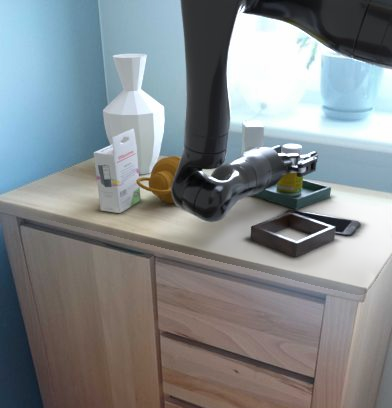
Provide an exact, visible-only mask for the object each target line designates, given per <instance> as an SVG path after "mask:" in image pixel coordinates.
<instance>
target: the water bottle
mask: <svg viewBox="0 0 392 408" xmlns="http://www.w3.org/2000/svg"><path fill="white" fill-rule="evenodd" d="M180 158H181V156H176V155H175V156H174V155H172V156H171V155H170V156H167V157H162V158H160V159H159V160H157V162H156V164H155V165H154V167H153V169H152V172H151V173H150V177H148V176H147V177H146V176H145V177H144V176H143V177H139V179H137V184H138V185H139V186H140V189H143V190H146V191H147V192H150V193H152V194H153V195H155V196H157V198H159V200H161V201H163V202H165V203H169V204H175V203H174V201H173V199H172V195H171V185H172V182H173V179H174V176H175V174H176V171H177V168H178V165H179V161H180ZM203 171H204V169H202V172H203ZM203 173H204V172H203ZM145 181H146V182H148V186H146V185H144V184H143V183H141V182H145Z"/></svg>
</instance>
